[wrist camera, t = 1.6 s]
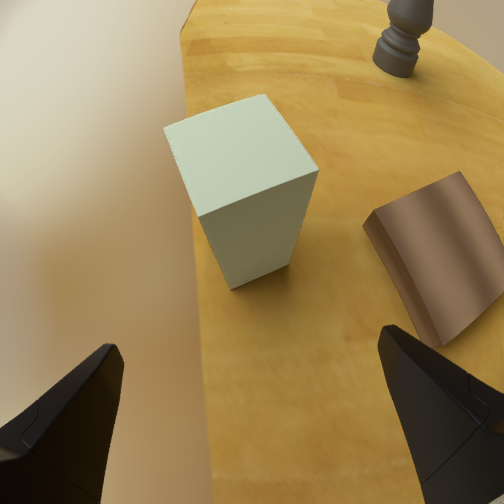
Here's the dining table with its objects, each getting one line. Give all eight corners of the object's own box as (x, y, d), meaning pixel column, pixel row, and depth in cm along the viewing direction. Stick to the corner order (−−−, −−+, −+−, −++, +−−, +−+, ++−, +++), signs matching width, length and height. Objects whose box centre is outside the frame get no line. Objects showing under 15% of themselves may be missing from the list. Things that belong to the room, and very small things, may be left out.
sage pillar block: (230, 290, 23) (198, 216, 11) (207, 235, 24) (163, 128, 12) (288, 264, 23) (319, 169, 11) (262, 212, 25) (264, 93, 13)
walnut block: (424, 348, 21) (443, 346, 18) (362, 225, 24) (373, 209, 22) (499, 284, 22) (517, 276, 19) (446, 185, 26) (459, 170, 23)
